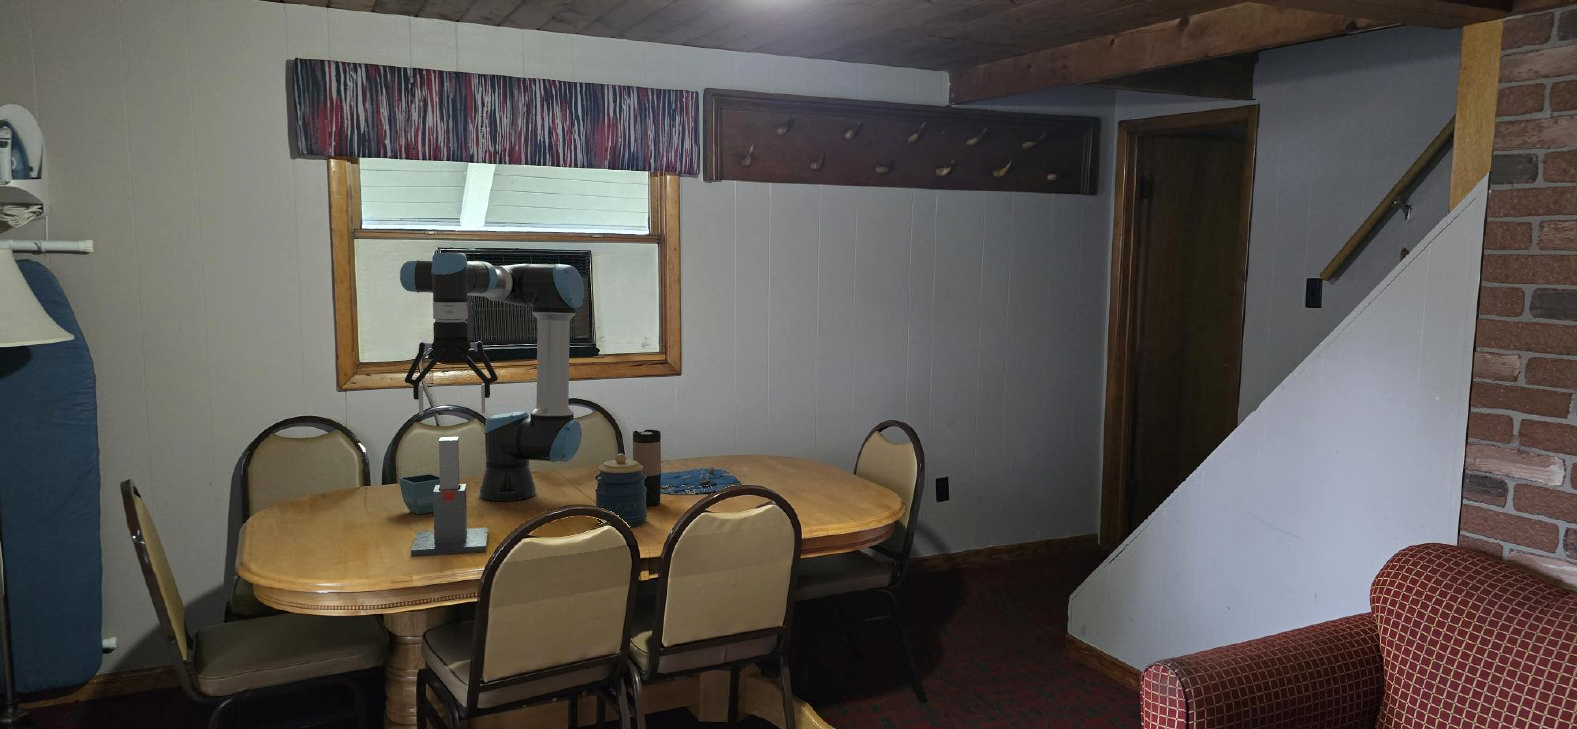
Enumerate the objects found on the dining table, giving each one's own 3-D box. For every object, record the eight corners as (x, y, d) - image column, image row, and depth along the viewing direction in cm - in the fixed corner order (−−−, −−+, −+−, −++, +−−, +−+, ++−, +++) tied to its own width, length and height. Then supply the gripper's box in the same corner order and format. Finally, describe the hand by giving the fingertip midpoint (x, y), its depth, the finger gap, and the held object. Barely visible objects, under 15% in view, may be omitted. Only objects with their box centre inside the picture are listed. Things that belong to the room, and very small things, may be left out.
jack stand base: (411, 556, 227) (409, 497, 226) (418, 537, 242) (416, 481, 241) (485, 552, 231) (484, 494, 230) (488, 533, 246) (487, 478, 245)
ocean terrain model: (706, 506, 282) (706, 488, 281) (621, 491, 297) (621, 474, 296) (762, 482, 307) (762, 465, 307) (681, 469, 322) (681, 453, 321)
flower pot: (431, 505, 273) (430, 473, 272) (446, 512, 266) (446, 478, 265) (399, 511, 267) (398, 477, 266) (414, 517, 260) (413, 483, 259)
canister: (601, 515, 265) (600, 448, 263) (650, 516, 265) (650, 449, 263) (590, 528, 252) (589, 458, 250) (642, 529, 252) (641, 459, 250)
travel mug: (655, 508, 272) (655, 434, 270) (628, 506, 274) (628, 433, 272) (664, 501, 280) (664, 430, 278) (638, 500, 281) (638, 428, 279)
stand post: (441, 539, 234) (438, 440, 232) (442, 534, 238) (440, 437, 236) (459, 538, 235) (457, 440, 233) (460, 533, 239) (458, 436, 237)
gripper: (390, 321, 225) (392, 416, 227) (507, 321, 231) (508, 413, 234) (394, 319, 232) (396, 411, 234) (507, 319, 239) (508, 409, 241)
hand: (452, 413), depth 234 cm, fingers open, 13 cm apart
